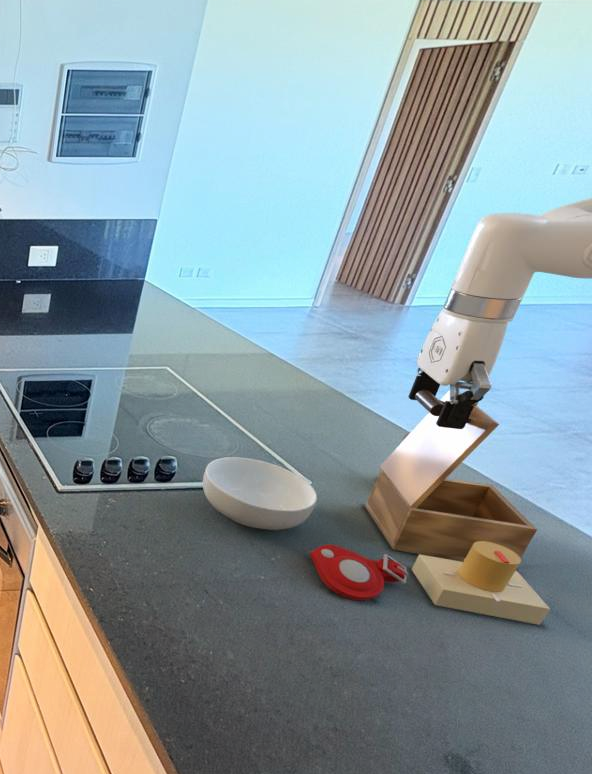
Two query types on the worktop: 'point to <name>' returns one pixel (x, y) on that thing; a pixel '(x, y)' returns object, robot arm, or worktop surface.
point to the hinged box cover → (433, 450)
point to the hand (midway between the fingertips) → (434, 413)
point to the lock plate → (478, 592)
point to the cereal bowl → (258, 493)
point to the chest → (448, 519)
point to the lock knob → (489, 566)
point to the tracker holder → (355, 572)
